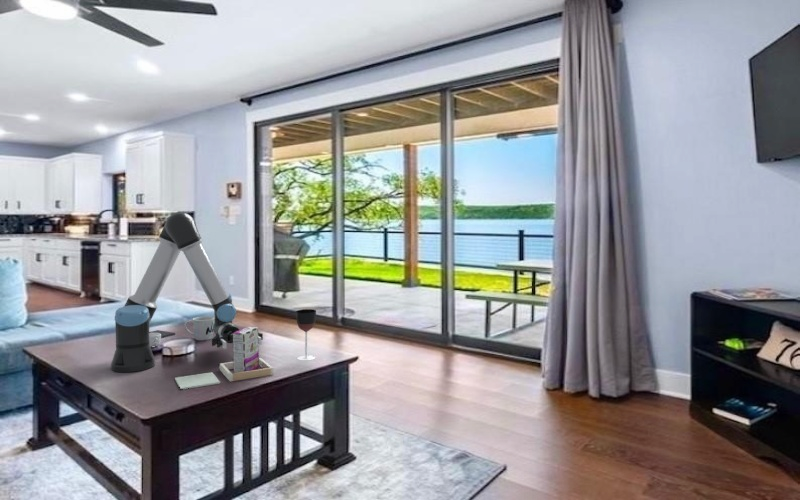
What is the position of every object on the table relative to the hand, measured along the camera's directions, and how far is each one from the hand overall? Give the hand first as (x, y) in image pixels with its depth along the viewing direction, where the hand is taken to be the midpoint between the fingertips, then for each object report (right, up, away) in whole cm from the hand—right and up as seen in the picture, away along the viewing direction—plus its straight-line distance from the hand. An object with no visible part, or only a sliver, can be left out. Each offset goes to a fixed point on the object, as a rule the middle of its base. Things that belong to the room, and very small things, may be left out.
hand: (243, 343), depth 196 cm
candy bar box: (+3, -10, -5) cm, 12 cm away
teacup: (-51, -7, +31) cm, 60 cm away
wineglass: (+22, -9, +15) cm, 28 cm away
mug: (-36, -7, +47) cm, 60 cm away
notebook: (-61, -7, +47) cm, 78 cm away
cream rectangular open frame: (+3, -10, -5) cm, 12 cm away
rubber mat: (-11, -11, -17) cm, 23 cm away
